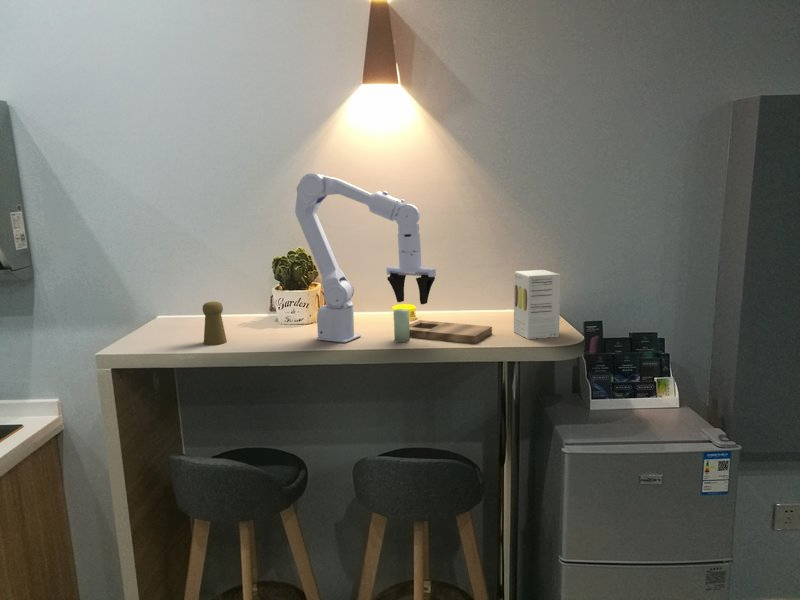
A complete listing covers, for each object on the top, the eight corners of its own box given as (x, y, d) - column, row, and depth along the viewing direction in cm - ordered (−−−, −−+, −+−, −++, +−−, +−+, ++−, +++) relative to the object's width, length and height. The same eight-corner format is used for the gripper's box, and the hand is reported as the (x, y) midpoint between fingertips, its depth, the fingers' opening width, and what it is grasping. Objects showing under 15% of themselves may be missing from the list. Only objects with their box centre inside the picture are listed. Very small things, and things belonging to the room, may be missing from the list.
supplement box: (512, 332, 175) (513, 270, 172) (543, 329, 177) (544, 269, 174) (528, 339, 166) (528, 275, 163) (560, 337, 168) (561, 273, 165)
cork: (199, 342, 171) (196, 302, 169) (219, 338, 175) (216, 299, 174) (210, 346, 167) (207, 305, 165) (231, 342, 171) (228, 301, 169)
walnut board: (399, 335, 174) (399, 328, 173) (419, 326, 184) (419, 320, 184) (475, 343, 163) (475, 336, 163) (491, 333, 173) (491, 326, 173)
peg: (391, 341, 168) (391, 311, 167) (399, 337, 171) (398, 308, 170) (405, 342, 166) (404, 312, 165) (412, 339, 169) (411, 309, 168)
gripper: (441, 250, 164) (443, 302, 167) (396, 248, 173) (399, 298, 175) (425, 253, 159) (428, 306, 161) (380, 251, 168) (383, 302, 170)
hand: (412, 302), depth 168 cm, fingers open, 7 cm apart
